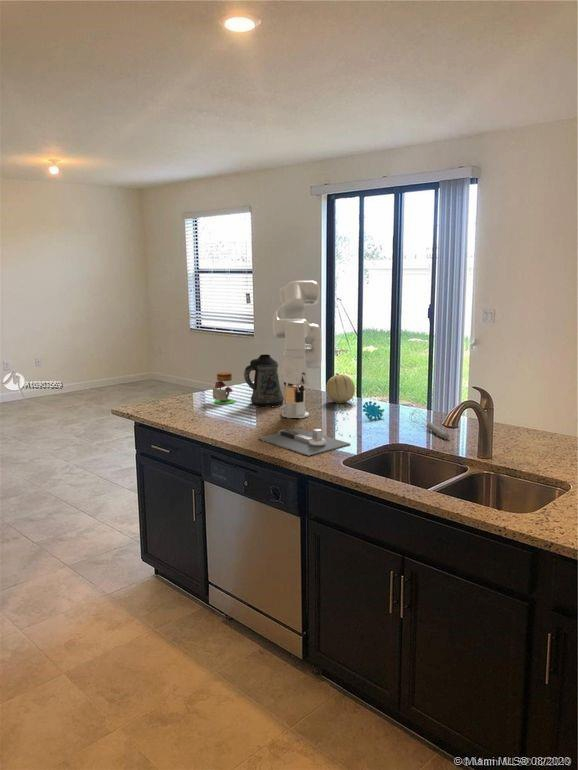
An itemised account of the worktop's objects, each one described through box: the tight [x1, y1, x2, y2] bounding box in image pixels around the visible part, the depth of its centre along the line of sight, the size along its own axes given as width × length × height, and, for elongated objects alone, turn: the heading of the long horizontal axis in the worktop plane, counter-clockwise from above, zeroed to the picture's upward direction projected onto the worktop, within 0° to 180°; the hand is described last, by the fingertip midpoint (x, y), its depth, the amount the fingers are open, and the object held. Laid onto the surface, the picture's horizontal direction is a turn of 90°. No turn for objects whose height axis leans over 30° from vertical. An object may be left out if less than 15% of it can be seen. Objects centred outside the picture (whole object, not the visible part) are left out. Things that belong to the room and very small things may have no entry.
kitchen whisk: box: [408, 408, 450, 440], centre depth 252 cm, size 6×34×6 cm, turn 14°
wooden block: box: [284, 385, 304, 404], centre depth 228 cm, size 5×5×6 cm
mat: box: [257, 428, 351, 457], centre depth 235 cm, size 30×22×1 cm
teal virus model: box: [362, 400, 385, 421], centre depth 272 cm, size 11×6×10 cm
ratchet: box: [278, 428, 326, 447], centre depth 235 cm, size 24×6×6 cm, turn 41°
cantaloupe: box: [325, 373, 356, 404], centre depth 302 cm, size 15×15×15 cm
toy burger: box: [211, 371, 236, 405], centre depth 305 cm, size 12×13×15 cm
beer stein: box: [243, 354, 285, 408], centre depth 297 cm, size 16×19×25 cm
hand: (294, 400), depth 229 cm, fingers closed on wooden block, 5 cm apart
